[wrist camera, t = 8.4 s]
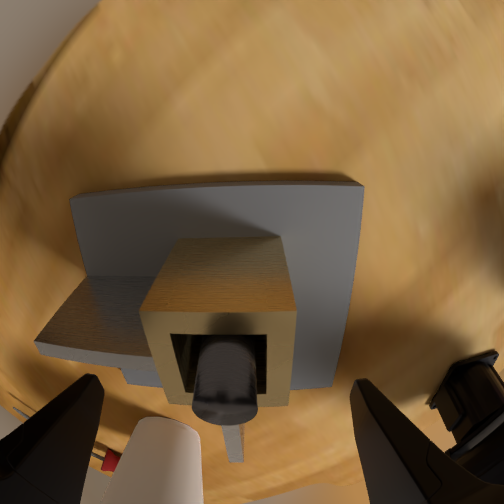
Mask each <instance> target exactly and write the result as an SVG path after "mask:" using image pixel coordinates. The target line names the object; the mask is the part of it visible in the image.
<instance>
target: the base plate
mask: <svg viewBox="0 0 504 504" xmlns="http://www.w3.org/2000/svg"><path fill="white" fill-rule="evenodd" d="M363 198H364V186H363V185H361V184H360V183H358V182H343V181H239V182H213V183H193V184H177V185H163V186H150V187H139V188H128V189H118V190H109V191H100V192H92V193H84V194H78V195H76V196H74V197H72V198H71V199H69V200H70V206H71V211H72V216H73V221H74V225H75V230H76V234H77V239H78V243H79V247H80V251H81V255H82V259H83V262H84V266H85V270H86V273H87V276H158V274H159V272H160V270H161V268H162V266H163V265H164V263H165V261H166V259H167V258H168V256H169V254H170V252H171V251H172V249H173V247H174V245H175V244H176V242H177V240H178V239H183V238H219V237H264V236H281V239H282V243H283V248H284V252H285V257H286V261H287V266H288V271H289V275H290V280H291V285H292V290H293V295H294V299H295V304H296V309H297V316H296V329H295V341H294V353H293V363H292V374H291V384H290V390H298V389H312V388H324V387H332V384H333V380H334V376H335V372H336V367H337V363H338V359H339V354H340V350H341V345H342V341H343V336H344V331H345V326H346V321H347V315H348V310H349V305H350V299H351V293H352V287H353V281H354V274H355V267H356V260H357V253H358V245H359V237H360V229H361V219H362V209H363ZM121 370H122V373H123V375H124V377H125V379H126V382H127V384H133V385H141V386H150V387H160V388H163V386H162V384H161V381H160V378H159V375H158V372H154V371H144V370H134V369H125V368H121Z"/></svg>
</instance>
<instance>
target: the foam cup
mask: <svg viewBox="0 0 504 504" xmlns="http://www.w3.org/2000/svg"><path fill="white" fill-rule="evenodd" d="M100 504H203V488H202V467H201V444H200V437H199V435H198V432H196V431H195V430H194V429H192V428H191V427H190V426H188V425H186V424H184V423H181V422H179V421H176V420H173V419H168V418H163V417H145V418H143V419H141V420H139V421H138V424H137V425H136V427H135V429H134V431H133V433H132V435H131V437H130V439H129V441H128V443H127V445H126V447H125V450H124V452H123V454H122V456H121V458H120V460H119V462H118V464H117V467H116V469H115V471H114V473H113V475H112V477H111V480H110V482H109V484H108V486H107V488H106V490H105V492H104V495H103V497H102V499H101V501H100Z"/></svg>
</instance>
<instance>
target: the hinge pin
mask: <svg viewBox="0 0 504 504" xmlns="http://www.w3.org/2000/svg"><path fill="white" fill-rule="evenodd" d="M192 410H193V412H194V413H195V414H196V415H197V416H198V417H199V418H200V419H202V420H204V421H206V422H209V423H212V424H216V425H223V426H232V425H239V424H243V423H246V422H248V421H250V420H251V419H253V418H254V417H255V416H256V414H257V411H258V405H257V383H256V361H255V340H254V334H249V335H209V334H202V340H201V347H200V353H199V359H198V366H197V373H196V379H195V386H194V393H193V400H192Z"/></svg>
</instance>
